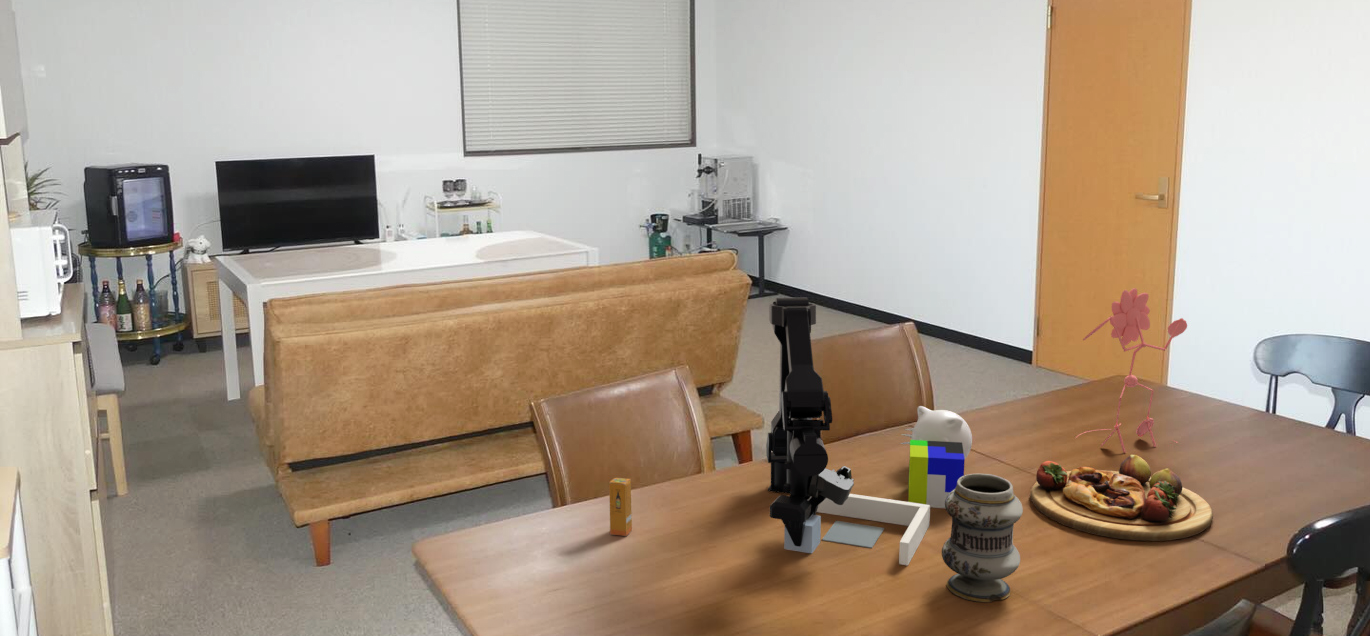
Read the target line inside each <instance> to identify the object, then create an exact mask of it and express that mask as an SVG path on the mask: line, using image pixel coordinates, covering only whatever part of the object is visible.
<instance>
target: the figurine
mask: <svg viewBox="0 0 1370 636" xmlns="http://www.w3.org/2000/svg"><path fill="white" fill-rule="evenodd" d="M1149 297H1150V296H1149V293H1147V292H1142V293H1139V294H1138V289H1137V288H1136V287H1134V288H1131V290H1129V291H1128V289H1125V290H1123V291H1122V293H1121V296H1120V302H1119V301H1113V302H1112V303H1111V312H1112V314H1113V315H1111V316H1109V317H1107V319H1105V320H1103V322H1101V323H1100V324H1099V325H1097V326H1096V327H1095V328H1094V329H1093V330H1091V331H1090V332H1089V333H1088V334H1087V335H1086V336H1085V337H1084V338H1083V339H1082V341H1085V340H1087V339H1089V337H1090V336H1092V335H1094V334H1095V333H1096V332H1097V331H1099V330H1100V329H1101V328H1102V327H1103V326H1104V325H1106V324H1107V323H1108V322H1109V323H1110V325H1111V326H1112V328H1113V329H1112V330H1111V334H1110V335H1111V338H1113V339H1118V341H1119V344H1120V345H1121V347H1122V350H1123V352H1124V353H1125V352H1127V351H1128V352H1129V351H1131V350H1133V349H1135V350H1133V352H1132V359H1131V364H1130V370H1129V374H1128V375H1127V376H1125V377H1124V379H1123V382H1124V385H1123V387H1122V391H1121V394H1120V396H1119V399H1118V405H1117V412H1116V413H1117V414H1116V420H1115V425H1114V429H1113V428H1103V429H1100V428H1099V431H1104V430H1105V431H1106V430H1109V431H1110V430H1112V429H1113V430H1112V431H1111V433H1110V434H1109V435H1108V436H1107V438H1105V440H1104V441H1103V442H1102V444H1101V445H1100V447H1102V446H1104V444H1105V443H1106V442H1107V441H1108V440H1109V439H1110V438H1111V437H1112V436H1113V434H1114V433H1115V432H1117V435H1118V438H1119V443H1120V445H1121V450H1122V453H1123V454H1125V453H1127V450H1126V448H1125V445H1124V444H1125V443H1124V440H1123V437H1122V435H1121V430H1120V427H1121V425H1122V423H1119V424H1118V422H1119V416H1120V409H1121V402H1122V397H1123V395H1124V392H1125V389H1126V387H1128V388H1135V387H1136V386H1140V387H1142V388H1143V389H1147V390H1148V391H1150V392H1151V393H1150V398H1149V399H1150V400H1149V404H1148V408H1147V409H1148V410H1147V416H1146V419H1144V420H1142V422H1140V424H1139V425H1138V426H1137V428H1136V430H1135V433H1136V435H1137V436H1138V437H1139V438H1142V437H1143V436H1145V434H1147V433H1148V432H1149V434H1150V436H1149V437H1150V439H1151V442H1152V445H1153V447H1154V448H1155V447H1157V443H1156V441H1155V438H1154V433H1153V431H1152V428H1153V426H1154V424H1155V421H1154V418H1151V417H1149V416H1150V412H1151V406H1152V401H1153V396H1154V390H1153V389H1152V388H1150V387H1148V386H1145V385H1144V384H1141V383H1139V381H1138V380H1139V379H1138V378H1137V377H1136V375H1133V373H1132V372H1133V368H1134V365H1135V364H1134V363H1135V359H1136V354H1137V353H1138V352H1139V351H1140V350H1141V349H1142V348H1145V347H1149V348H1153V349H1156V350H1161V351H1164V352H1165V351H1166V350H1167V348H1168V346H1170V344H1171V341H1172V339H1174V338H1176V337H1178V336H1179V335H1182V334H1183V333H1184V332H1185V331H1186V330H1187V329H1188V323H1187V321H1186V320H1185V319H1184V318H1183V317H1182V318H1179V319H1175V320H1174V321H1172V322H1171V323H1170V324H1169V326H1168V327H1167V333H1168V335H1169V336H1170V337H1169V339H1168V340H1167V341H1166V343H1165V345H1164V347H1160V346H1156V345H1153V344H1148V343H1146V341H1145V340H1144V336H1143V332H1142V331H1147V330H1149V329H1150V327H1151V322H1150V318H1149V316H1148V315H1149V314H1150V311H1151V309H1150V308H1149V306H1148V305H1147V303H1148V300H1149ZM1138 339H1140V342H1141V343H1139V344H1136V345H1131V346H1129V347H1125V346H1128V344H1130V343H1131V341H1132V342H1137V341H1138ZM1095 431H1097V429H1093V430H1089V429H1088V430H1086V431H1084V432H1083V433H1080V434H1078V435H1077V436H1076V435H1074V437H1075V438H1076V437H1079V436H1080V435H1083V434H1085V433H1089V432H1095ZM1074 437H1073V438H1074ZM1172 441H1173V442H1175V443H1177V444H1178V441H1175V440H1172Z"/></svg>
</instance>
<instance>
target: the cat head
mask: <svg viewBox="0 0 1370 636" xmlns="http://www.w3.org/2000/svg"><path fill="white" fill-rule="evenodd" d="M916 409H917V422H916V423H915V424H914V427H912V428H905V429H903V431H910V432H912V434H911V433H910V434H908V433H906V434H905V433H901V435H902V436H904V437H909V438H911V440H924V441H943V442H962V445H963V452H964V459H966V458H968V456H969V454H970V452H971V449H972V447H973V446H972V445H973V435H972V430H971V428H970V426H969V425H968V423H967V421H966V420H965V419H964V418H963V417H962V416H961V415H959V414H958V413H955V412H954V411H950V410H947V409H936V410H931V409H929V408H927V407H925V406H923V405H919V406H917V408H916ZM900 445H910V441H904V442H901V443H900Z"/></svg>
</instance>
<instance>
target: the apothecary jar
mask: <svg viewBox="0 0 1370 636" xmlns="http://www.w3.org/2000/svg"><path fill="white" fill-rule="evenodd" d="M944 509H945V510H946V512H947V514H948V515H949V516H950V517H951V531H950V537H948V539H947V540H945V542H944V543H943V545H942V547H941V558H942V561H943V563H945V565H946V566H947V567H948V568H949V569H950V570H952V571H953V572H954V573H956V574H954V575H952V576H950V577H949V578H948V580H947V581H946V586H947V589H948V590H949V592H951V593H952V594H953V595H955V596H958V597H959V598H962V599H964V600H967V601H972V602H977V603H991V602H993V601H1003V600H1005V599H1007V598H1008V597H1010V595H1011V592H1012V591H1011V588H1010V585H1009V584H1008V583H1007V582H1006V581H1004V580H1003V579H1006V578H1007V577H1009V576H1010V575H1013V573H1015V572H1016V571H1017V569H1018V568H1019V567H1020V566H1019V565H1020V564H1021V555H1020V552H1019V550H1018V548H1017V547H1016V545H1014V527H1015V526H1014V525H1015V524H1016V522H1018V521H1019V520H1020V518H1021V517H1022V515H1023V512H1024V508H1023V504H1022V502H1021V501H1020V499H1019V497H1017V495H1015V494H1014V487H1013V484H1012V482H1011V481H1010V480H1008V479H1006V478H1004V477H1002V476H999V475H995V474H991V473H970V474H964V476H962V477H960V478H959V479H958V481H957V486H956V488H955V489H954V490H953V491H951V492H950V493H949V494H948V496H947V497H946V500H945V508H944Z"/></svg>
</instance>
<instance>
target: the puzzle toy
mask: <svg viewBox="0 0 1370 636" xmlns="http://www.w3.org/2000/svg"><path fill="white" fill-rule="evenodd" d="M909 442H910V444H909V460H908V461H909V463H908V464H909V465H908V491H907V492H908V495H907V496H908V498H907V499H908V501H907V502H912V503H919V504H926V505H930V508H933V509H935V508H937V509H946V508H945V500H946V497H947V496H948V494H949V493H950V492H951V491H953V490H954V489H955V488H956V486H957V481H958V479H959V478H960V477H962V476H964V475H965V459H966V458H965V459H964V452H963V445H962V442H943V441H924V440H912V439H909Z"/></svg>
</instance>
